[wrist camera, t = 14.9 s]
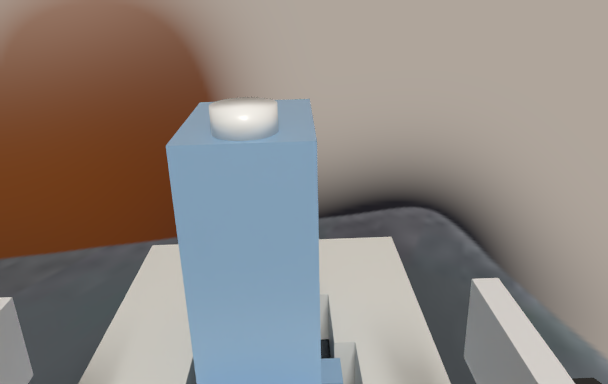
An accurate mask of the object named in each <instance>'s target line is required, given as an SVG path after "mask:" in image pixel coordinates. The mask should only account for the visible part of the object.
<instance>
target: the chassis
mask: <svg viewBox="0 0 608 384" xmlns="http://www.w3.org/2000/svg"><path fill="white" fill-rule="evenodd" d="M319 283H320V336H321V339H329V346H330V355H331V358H340V362H341V369H342V377H343V384H451V383H450V381H449V378H448V376H447V373H446V371H445V368H444V366H443V363H442V361H441V358H440V356H439V353H438V351H437V348H436V346H435V344H434V341H433V339H432V336H431V334H430V331H429V329H428V326H427V324H426V321H425V319H424V316H423V314H422V311H421V309H420V307H419V304H418V302H417V299H416V297H415V294H414V292H413V289H412V287H411V284H410V282H409V279H408V277H407V274H406V272H405V270H404V267H403V265H402V262H401V260H400V257H399V255H398V252H397V250H396V247H395V245H394V242H393V240H392V238H391V237H373V238H345V239H319ZM79 384H197V383H196V375H195V367H194V359H193V352H192V344H191V336H190V329H189V321H188V313H187V306H186V298H185V290H184V283H183V275H182V267H181V259H180V252H179V244H177V245H153V246H152V247H151V249H150V251H149V253H148V255H147V257H146V259H145V261H144V262H143V264H142V266H141V268H140V270H139V272H138V274H137V275H136V277H135V279H134V281H133V283H132V285H131V287H130V289H129V290H128V292H127V294H126V296H125V298H124V300H123V302H122V303H121V305H120V307H119V309H118V311H117V313H116V315H115V316H114V318H113V320H112V322H111V324H110V326H109V328H108V330H107V331H106V333H105V335H104V337H103V339H102V341H101V343H100V344H99V346H98V348H97V350H96V352H95V354H94V356H93V358H92V359H91V361H90V363H89V365H88V367H87V369H86V371H85V372H84V374H83V376H82V378H81V380H80V382H79Z"/></svg>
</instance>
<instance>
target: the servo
mask: <svg viewBox="0 0 608 384" xmlns="http://www.w3.org/2000/svg"><path fill="white" fill-rule="evenodd" d="M166 151H167V159H168V167H169V175H170V182H171V190H172V198H173V205H174V213H175V221H176V228H177V236H178V244H179V252H180V259H181V267H182V275H183V283H184V290H185V298H186V306H187V313H188V321H189V329H190V336H191V344H192V352H193V359H194V367H195V375H196V383H197V384H343V377H342V369H341V362H340V358H327V359H321V336H320V283H319V231H318V182H317V181H318V180H317V139H316V133H315V128H314V122H313V116H312V110H311V105H310V99H295V100H273V99H268V98H258V97H256V98H255V97H243V98H231V99H225V100H220V101H216V102H200V103H199V105H198V106H197V107H196V108H195V110H194V111H193V112H192V113H191V115H190V116H189V117H188V119H187V120H186V121H185V122H184V123H183V125H182V126H181V127H180V129H179V130H178V131H177V132H176V134H175V135H174V136H173V138H172V139H171V140H170V141H169V143H168V144H167V145H166Z"/></svg>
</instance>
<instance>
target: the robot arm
mask: <svg viewBox="0 0 608 384" xmlns="http://www.w3.org/2000/svg"><path fill="white" fill-rule="evenodd" d="M464 358H465V361H466V363H467V365H468V367H469V369H470V371H471V373H472V375H473V377H474V379H475V381H476V384H601V383H600V382H599V381H597V380H596V379H594V378H577V379H571V377H570V376H569V374H568V373H567V372H566V370H565V369H564V368H563V366H562V365H561V363H560V362H559V361H558V359H557V358H556V357H555V355H554V354H553V352H552V351H551V350H550V348H549V347H548V346H547V344H546V343H545V341H544V340H543V339H542V337H541V336H540V335H539V333H538V332H537V330H536V329H535V328H534V326H533V325H532V324H531V322H530V321H529V319H528V318H527V317H526V315H525V314H524V313H523V311H522V310H521V308H520V307H519V306H518V304H517V303H516V302H515V300H514V299H513V297H512V296H511V295H510V293H509V292H508V291H507V289H506V288H505V286H504V285H503V284H502V282H501V281H500V280H499V278H483V279H472V282H471V292H470V301H469V311H468V321H467V330H466V340H465V349H464ZM32 376H33V372H32V368H31V364H30V361H29V357H28V353H27V350H26V346H25V342H24V339H23V335H22V331H21V328H20V324H19V320H18V317H17V313H16V309H15V306H14V302H13V298H12V297H4V298H0V384H28V383H29V381H30V379H31V378H32Z"/></svg>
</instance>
